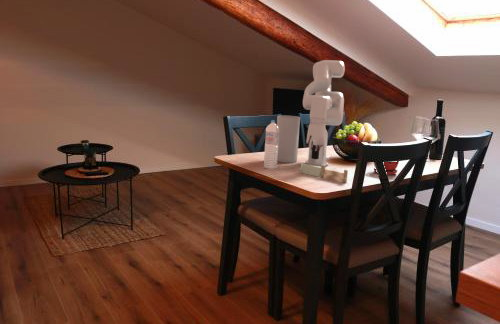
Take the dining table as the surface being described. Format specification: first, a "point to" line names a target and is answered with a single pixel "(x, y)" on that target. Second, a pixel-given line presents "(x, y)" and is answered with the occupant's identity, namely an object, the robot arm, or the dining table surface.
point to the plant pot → (390, 167)
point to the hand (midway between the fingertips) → (314, 158)
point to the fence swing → (310, 170)
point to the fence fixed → (334, 175)
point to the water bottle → (271, 146)
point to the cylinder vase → (288, 138)
